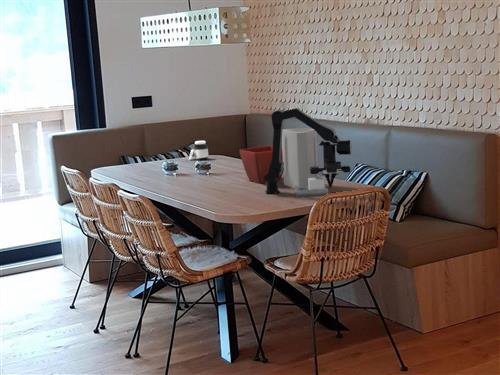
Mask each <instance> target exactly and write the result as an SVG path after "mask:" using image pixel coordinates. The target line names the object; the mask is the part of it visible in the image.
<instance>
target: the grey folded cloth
mask: <svg viewBox="0 0 500 375" xmlns="http://www.w3.org/2000/svg"><path fill="white" fill-rule="evenodd" d="M324 187H325V189H313V190H309V187H298V185H295V189H294V194H295V196H296V197H310V196H325V195H324V194H327V193H329V188H327V185H324Z"/></svg>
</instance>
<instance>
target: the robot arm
mask: <svg viewBox="0 0 500 375" xmlns="http://www.w3.org/2000/svg"><path fill="white" fill-rule="evenodd" d="M292 118H295V119H297V120H299V121H300V122H302V123H303V124H305V125H306V126H308V127H309V128H312V129H314V130H315V131H316V132H317V135H318V136H320V138H322V140H321V142H320V143H318V146H321V147H322V153H323V154H322V156H323V167H319V165H318V166H314V167H310V173H311V174H318V173H321V174H322V175H323V176H325V179H326V181H327V184H328V187H329V188H332V186H333V183H334V181H335V180H334V179H335V178H336V176H338V175H339V172H343V173H351V167H350V165H349V164H342V162H341V161H337V159H336V158H337V156H336V153H337V154H338V155H342V156H343V155H344V156H345V155H349V156H350V155H352V151H353V150H352V149H353V147H352V142H351V141H352V140H351V139H345V140H343V139H340V137H338V135H336V134H337V133H336V132H337V131H336V130H335V129H334V128H333V127H330V126H329V125H325V124H323V123H320V122H319V121H318V120H316V119H314V117H311V116H310V115H309V114H307V113H305V112H304V111H302V110H301V108H299V107H295V108H292V109H286V110H283V109H277V110H274V112H272V113H271V125H272V129H273V134H272V135H273V136H272V146H273V149H272V160H271V163H270V166H269V170H268V174H267V175H266V176H265V177H264V179H265V181H266V182H265V187H266V188H265V189H266V190H265V194H266V195H267V194H268V195H270V194H280V190H279V181H278V178H279V175H280V174H281V173H282V171H283V170H284V162H282V161H281V148H282V130H283V129H284V125H285V123H286V120H287V119H292Z"/></svg>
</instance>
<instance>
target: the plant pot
mask: <svg viewBox="0 0 500 375" xmlns="http://www.w3.org/2000/svg"><path fill="white" fill-rule="evenodd" d="M272 149H273V145H266V146H256V147H250V148H242V149H241V148H240V149H239V155H240V158H241V162H242V165H243V168H244V171H245V173H246V175H247V178H248V181H250V182H254V183H258V184H264V183H265V184H266V181H265V179H264V177H265V176H266V175H267V174H268V170H269V166H270V163H271V160H272ZM281 161H282V162H283V154H282V147H281ZM282 177H283V171H282V173H281V174H280V175H279V178H278V182H279V181H281V180H282Z"/></svg>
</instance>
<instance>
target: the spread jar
mask: <svg viewBox="0 0 500 375" xmlns="http://www.w3.org/2000/svg"><path fill="white" fill-rule="evenodd" d="M193 157H194V158H193ZM192 158H193V159H194V160H195V161H206V160H208V159H209V148H208V146H207V144H206V140H196V141H195V142H194V145H193V149H191V150H190V154H189V157H188V160H189V161H191V160H192Z"/></svg>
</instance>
